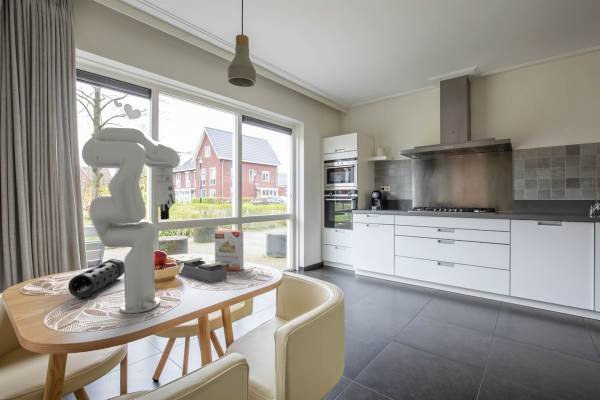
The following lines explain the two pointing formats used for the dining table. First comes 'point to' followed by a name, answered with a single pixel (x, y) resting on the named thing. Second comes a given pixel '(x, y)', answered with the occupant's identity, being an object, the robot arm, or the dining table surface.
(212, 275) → the switch box
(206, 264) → the near rocker
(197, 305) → the dining table surface
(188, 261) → the far rocker
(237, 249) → the cracker box
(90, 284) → the muzzle brake
